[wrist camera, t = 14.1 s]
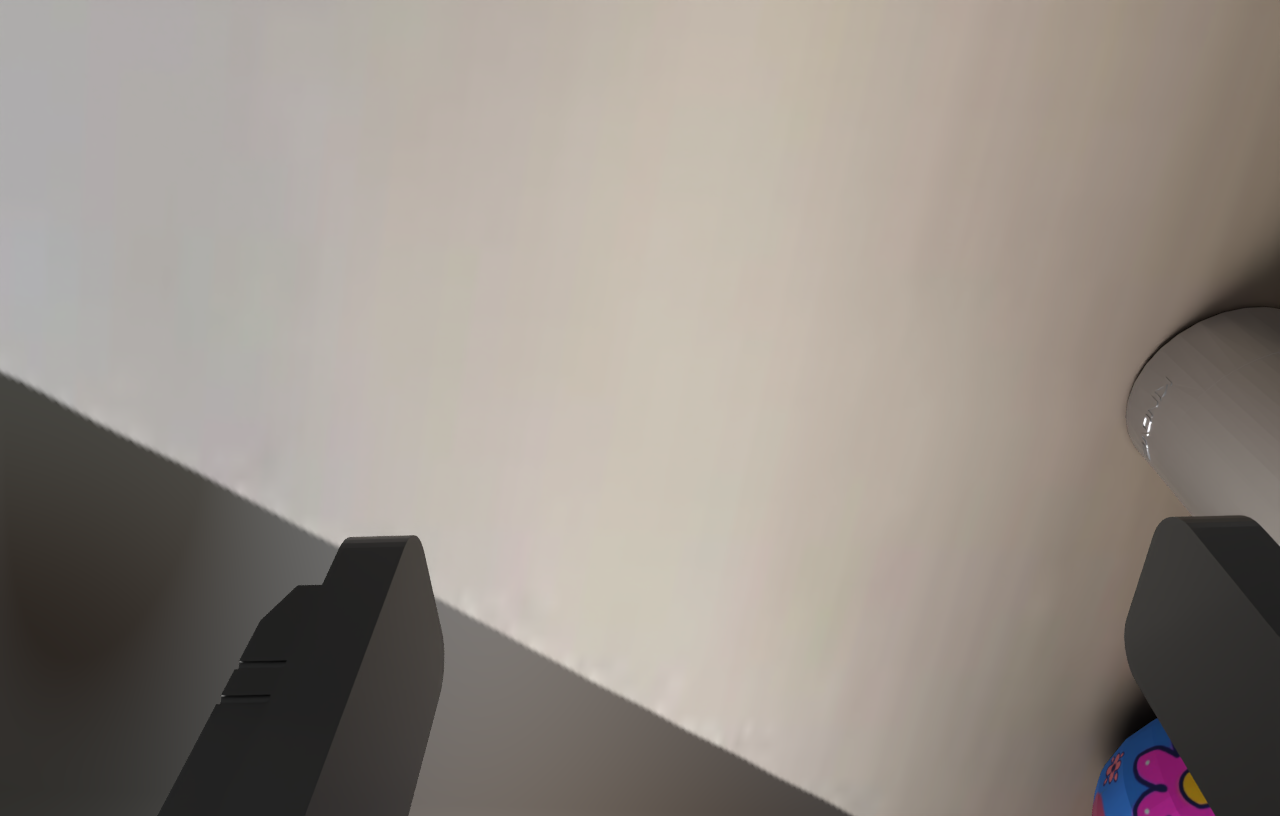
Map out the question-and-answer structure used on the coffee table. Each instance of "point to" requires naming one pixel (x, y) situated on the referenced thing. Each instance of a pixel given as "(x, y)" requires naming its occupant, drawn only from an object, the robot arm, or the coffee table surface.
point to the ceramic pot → (1148, 779)
